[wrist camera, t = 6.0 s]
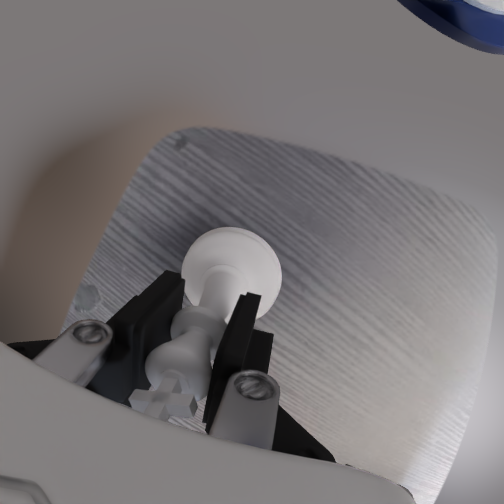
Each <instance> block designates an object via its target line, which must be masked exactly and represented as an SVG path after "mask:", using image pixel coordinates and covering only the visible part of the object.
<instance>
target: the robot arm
mask: <svg viewBox="0 0 504 504" xmlns="http://www.w3.org/2000/svg"><path fill="white" fill-rule="evenodd" d="M464 1H465V2H467V3H469V4H471V5H473V6H475V7H477V8H479V9H481V10H484V11H487V12H490V13H493V14H499V15H504V0H464ZM184 289H185V279H183V278H181V274H179V273H175V272H172V271H168V270H166V271H165V272H164V273H163V274H162V275H160V276H159V277H158V278H157V279H156V280H155V281H154V282H153V283H152V284H151V285H150V286H149V287H147V288H146V289H145V290H144V291H143V292H142V293H141V294H140V295H139V296H137V295H136V296H134V297H133V298H132V299H131V300H130V301H129V302H128V303H127V304H126V305H124V306H123V307H122V308H121V309H120V310H119V311H118V312H117V313H116V314H115V315H114V316H113V317H112V318H111V319H109V320H108V321H107V322H106V323H104V322H102V321H98V320H92V319H87V320H81V321H77V322H75V323H74V324H72V325H71V326H70V327H69V328H67V329H66V330H65V331H64V332H63V333H62V334H61V335H60V336H58V337H57V338H56V339H53V340H42V341H29V342H16V343H10V344H7V345H5V344H4V343H2V342H1V341H0V504H416V503H415V501H414V498H413V496H412V494H411V493H410V492H409V490H408V489H406V488H405V487H403V486H401V485H398V484H396V483H394V482H392V481H390V480H388V479H386V478H383V477H381V476H378V475H375V474H373V473H370V472H368V471H365V470H361V469H357V468H355V467H352V466H350V465H348V464H346V465H342V464H338V463H336V461H335V459H334V457H333V455H332V454H331V453H330V452H329V451H328V450H327V449H326V448H325V447H324V446H323V445H322V444H320V443H319V442H318V441H317V440H316V439H315V438H314V437H313V436H312V435H310V434H309V433H308V432H307V431H306V430H305V429H304V428H303V427H302V426H301V425H300V424H299V423H298V422H296V421H295V420H294V419H293V418H292V417H291V416H290V415H289V414H288V413H287V412H286V411H285V410H284V409H283V408H282V407H281V406H280V405H279V397H280V387H279V385H278V383H277V382H276V381H275V380H274V379H273V378H272V377H271V376H269V375H267V373H268V367H269V361H270V355H271V349H272V343H273V337H274V334H272V333H268V332H264V331H260V330H256V329H253V327H254V323H255V320H256V316H257V312H258V308H259V304H260V300H261V296H262V295H258V294H254V293H250V292H247V294H246V295H242V294H240V296H239V299H238V301H237V303H236V306H235V308H234V311H233V313H232V315H231V318H230V320H229V322H228V325H227V327H226V329H225V332H224V334H223V337H222V339H221V341H220V344H219V346H218V349H217V352H216V355H215V359H214V364H213V369H212V374H211V379H210V385H209V390H208V395H207V400H206V405H205V410H204V416H203V421H202V422H203V423H206V429H205V431H206V432H207V434H208V435H207V434H204V433H200V432H197V431H194V430H191V429H187V428H184V427H181V426H178V425H175V424H172V423H169V422H166V421H164V420H161V419H158V418H155V417H152V416H150V415H147V414H144V413H142V412H139V411H137V410H134V409H132V406H131V404H130V401H129V397H130V396H131V394H132V393H133V391H134V390H135V389H139V390H149V388H150V387H151V383H150V382H149V380H148V378H147V376H146V372H145V361H146V358H147V356H148V355H149V353H150V352H151V351H152V350H154V349H155V348H156V347H158V346H160V345H162V344H164V343H166V342H169V341H171V340H172V338H171V333H170V329H171V324H172V319H173V317H174V316H175V314H176V313H177V312H178V311H180V310H181V309H182V303H183V296H184ZM119 403H121V404H119ZM122 404H124V405H126V406H124V405H122ZM127 406H129V407H131V408H129V407H127Z"/></svg>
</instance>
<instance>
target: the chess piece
mask: <svg viewBox="0 0 504 504" xmlns="http://www.w3.org/2000/svg"><path fill="white" fill-rule="evenodd" d="M181 276H182V278H183V279H185V289H184V291H185V293H186V295H187V297H188V299H189V300H190V302H191V303H192V305H193V306H189V307H185V308H183V309H181V310H180V311H178V312H177V313H176V314H175V316H174V317H173V319H172V324H171V329H170V333H171V338H172V340H171V341H169V342H166V343H164V344H162V345H160V346H158V347H156V348H155V349H154V350H152V351H151V352H150V353H149V355H148V356H147V358H146V361H145V372H146V376H147V378H148V380H149V382H150V383H151V385H152V386H153V387H154V388H155V389H156V391H148V390H139V389H135V390H134V391H133V393H132V394H131V396H130V397H129V401H130V404H131V406H132V408H133V409H134V410H137V411H139V412H143V413H144V414H147V415H150V416H152V417H155V418H158V419H161V420H164V421H166V422H167V421H168V419H169V416H174V417H184V418H193V417H194V415H195V412H196V410H197V407H198V406H197V403H196V401H199V400H201V399H203V398H204V397H206V396H207V395H208V390H209V385H210V379H211V374H212V367H211V362H210V361H212V360H214V359H215V355H216V352H217V349H218V346H219V344H220V341H221V339H222V337H223V334H224V332H225V329H226V327H227V324H228V322H229V320H230V318H231V315H232V313H233V311H234V308H235V306H236V303H237V301H238V299H239V296H240V294H242V295H246V294H247V292H250V293H254V294H258V295H262V296H261V300H260V304H259V308H258V312H257V316H256V319H258V318H259V317H261V316H262V315H264V314H265V313H266V312H267V311H268V310H269V309H270V308H271V306H272V305H273V303H274V302H275V300H276V298H277V296H278V294H279V291H280V288H281V282H282V272H281V267H280V263H279V260H278V258H277V256H276V254H275V252H274V251H273V249H272V248H271V247H270V245H269V244H268V243H267V242H266V241H265V240H263V239H262V238H261V237H259V236H258V235H256V234H255V233H253V232H250V231H248V230H245V229H242V228H237V227H222V228H217V229H213V230H211V231H208V232H206V233H205V234H203V235H201V236H200V237H199V238H198V239H197V240H196V241H195V242H194V243H193V244H192V245H191V247H190V249H189V250H188V252H187V254H186V256H185V258H184V261H183V265H182V272H181Z"/></svg>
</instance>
